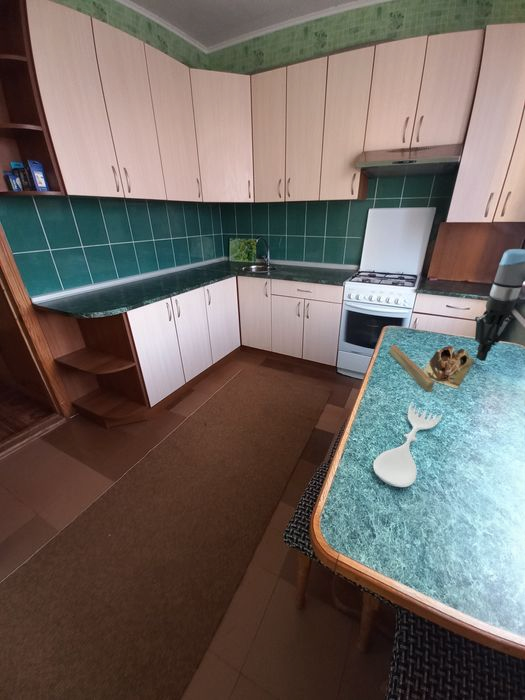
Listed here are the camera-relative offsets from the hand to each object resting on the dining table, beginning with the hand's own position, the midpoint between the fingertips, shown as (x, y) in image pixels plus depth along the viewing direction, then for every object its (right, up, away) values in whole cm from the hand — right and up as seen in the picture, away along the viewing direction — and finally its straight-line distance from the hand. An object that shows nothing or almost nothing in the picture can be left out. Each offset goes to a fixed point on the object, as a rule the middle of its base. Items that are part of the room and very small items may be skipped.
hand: (480, 358), depth 108 cm
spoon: (-44, -22, -33) cm, 59 cm away
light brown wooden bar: (-27, -4, +1) cm, 27 cm away
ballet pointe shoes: (-11, -4, +2) cm, 12 cm away
